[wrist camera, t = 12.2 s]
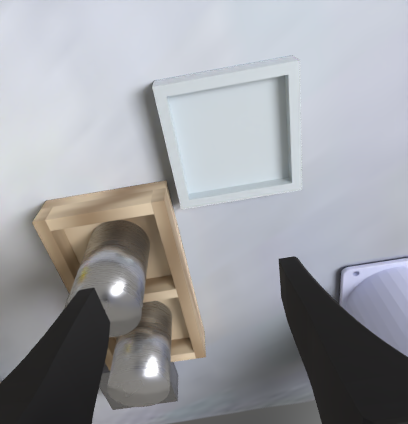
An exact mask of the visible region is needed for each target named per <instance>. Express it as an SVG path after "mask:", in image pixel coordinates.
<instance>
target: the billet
mask: <svg viewBox="0 0 408 424" xmlns="http://www.w3.org/2000/svg"><path fill="white" fill-rule="evenodd" d="M149 251H150V240H149V237H148V235H147V234H146V232H145V231H144V230H143V229H142V228H141V227H139V226H138V225H136V224H134V223H132V222H129V221H126V220H115V221H109V222H103V223H101V224H100V225H98V226H97V227H96V228H95V229H94V230H93V232H92V234H91V237H90V239H89V242H88V245H87V248H86V250H85V253H84V256H83V259H82V261H81V264H80V267H79V270H78V272H77V275H76V278H75V281H74V283H73V286H72V289H71V292H70V294H69V297H68V300H67V303H66V306H67V305H68V304H69V302H70V301H71V300H72V298H73V297H74V296H75V295H76V293H77V292H78V291H79V290H82V289H88V288H95V290H96V292H97V295H98V297H99V299H100V301H101V303H102V305H103V308H104V310H105V312H106V314H107V316H108V318H109V320H110V333H109V337H117V336H121V335H124V334H127V333H129V332H130V331H132V330H133V329H135V328H136V326H137V325H138V324H139V322H140V320H141V315H142V307H143V299H144V291H145V283H146V275H147V267H148V259H149ZM66 306H65V308H66Z"/></svg>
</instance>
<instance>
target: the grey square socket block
mask: <svg viewBox="0 0 408 424" xmlns="http://www.w3.org/2000/svg"><path fill="white" fill-rule="evenodd" d="M109 376H110V371H109V369H108V367H107V365H106V363H104V368H103V372H102V376H101V381H100V385H99V387H100V388H101V390H102V392H103V394H104V395H105V397H106V399H107V401H108V402H109V404H110V406H111V408H112V409H113V410H116V409H123V408H130V407H133V406H127V405H123V404H121V403H118V402H117V401H115V400H114V399H112V398H111V397H110V395H109V394H108V391H107V386H108V381H109ZM174 401H178V374H177V371H176V368H175V365H174V362H171V366H170V391H169V394H168V396H167V397H166V398H165V399H164V400H163V401H161V402H159V403H157V404H160V403H167V402H174Z"/></svg>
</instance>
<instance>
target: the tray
mask: <svg viewBox="0 0 408 424" xmlns="http://www.w3.org/2000/svg"><path fill="white" fill-rule="evenodd" d="M152 89H153V93H154V97H155V101H156V105H157V110H158V114H159V118H160V122H161V126H162V131H163V135H164V139H165V143H166V147H167V152H168V156H169V160H170V164H171V168H172V173H173V177H174V181H175V185H176V189H177V194H178V198H179V202H180V206H181V210H183V209H189V208H195V207H201V206H208V205H214V204H220V203H226V202H232V201H238V200H244V199H250V198H256V197H262V196H268V195H274V194H281V193H287V192H293V191H299V190H302V149H301V93H300V60H299V59H298V58H296V57H295V56H293V55H292V56H286V57H281V58H275V59H270V60H265V61H259V62H254V63H248V64H243V65H238V66H232V67H227V68H221V69H216V70H210V71H205V72H200V73H194V74H189V75H183V76H178V77H172V78H167V79H162V80H156V81H154V83H153V86H152Z"/></svg>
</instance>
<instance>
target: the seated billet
mask: <svg viewBox="0 0 408 424" xmlns="http://www.w3.org/2000/svg"><path fill="white" fill-rule="evenodd" d="M171 339H172V313H171V311H170V309H169V308H168V307H167V306H166V305H165V304H163V303H161V302H159V301H151V302H144V303H143V307H142V315H141V320H140V322H139V324H138V325H137V326H136V328H135V329H133V330H132V331H130V332H129V333H127V334H124V335H121V336H117V339H116V344H115V349H114V355H113V360H112V365H111V370H110V376H109V381H108V386H107V391H108V394H109V395H110V397H111V398H112V399H114V400H115V401H117V402H118V403H121V404H123V405H127V406H133V407H145V406H151V405H155V404H157V403H159V402H161V401H163V400H164V399H165V398H166V397H167V396H168V394H169V391H170V366H171Z"/></svg>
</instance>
